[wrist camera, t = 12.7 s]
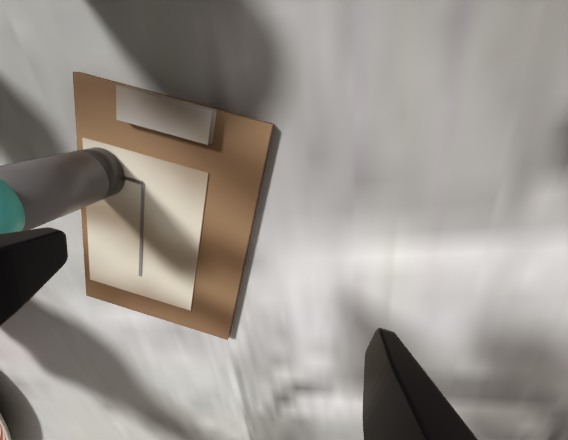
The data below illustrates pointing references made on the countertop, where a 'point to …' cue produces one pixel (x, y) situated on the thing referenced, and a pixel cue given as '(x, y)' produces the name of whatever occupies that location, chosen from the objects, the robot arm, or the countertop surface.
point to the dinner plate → (4, 430)
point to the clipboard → (170, 202)
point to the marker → (56, 186)
